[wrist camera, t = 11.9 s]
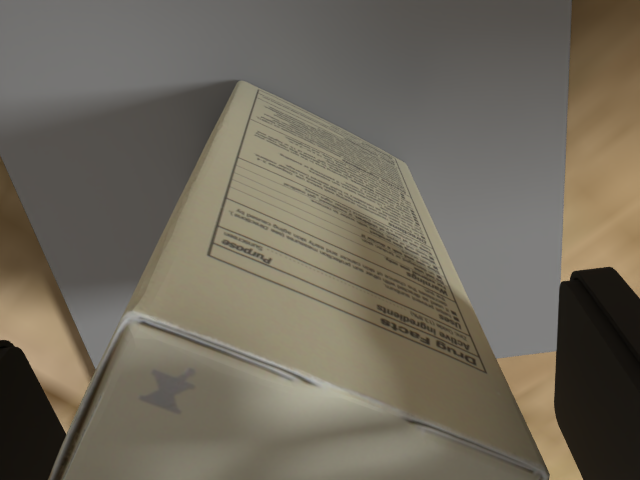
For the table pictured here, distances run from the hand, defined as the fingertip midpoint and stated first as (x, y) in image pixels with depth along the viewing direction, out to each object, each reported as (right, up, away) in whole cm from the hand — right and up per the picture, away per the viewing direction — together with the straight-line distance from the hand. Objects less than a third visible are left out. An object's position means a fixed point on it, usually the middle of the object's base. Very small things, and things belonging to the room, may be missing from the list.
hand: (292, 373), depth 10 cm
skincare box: (0, +4, +9) cm, 10 cm away
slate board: (0, +4, +10) cm, 11 cm away
